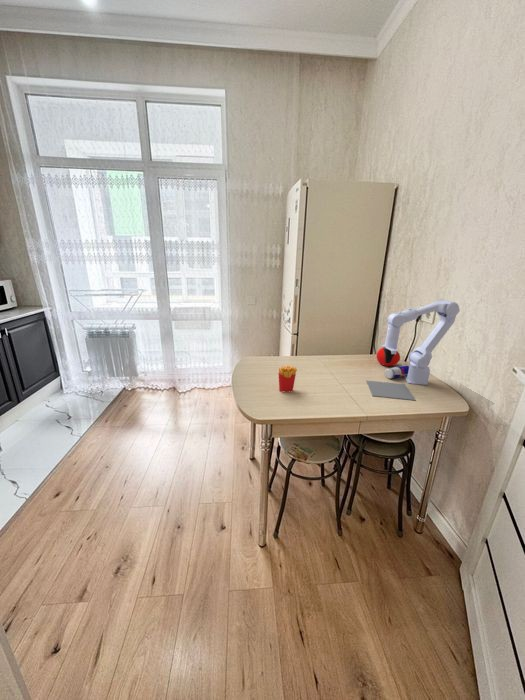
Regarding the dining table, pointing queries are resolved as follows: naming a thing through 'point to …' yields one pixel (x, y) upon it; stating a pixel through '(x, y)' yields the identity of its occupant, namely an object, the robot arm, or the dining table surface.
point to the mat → (390, 390)
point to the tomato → (382, 358)
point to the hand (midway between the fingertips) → (387, 362)
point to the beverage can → (397, 371)
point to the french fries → (287, 378)
